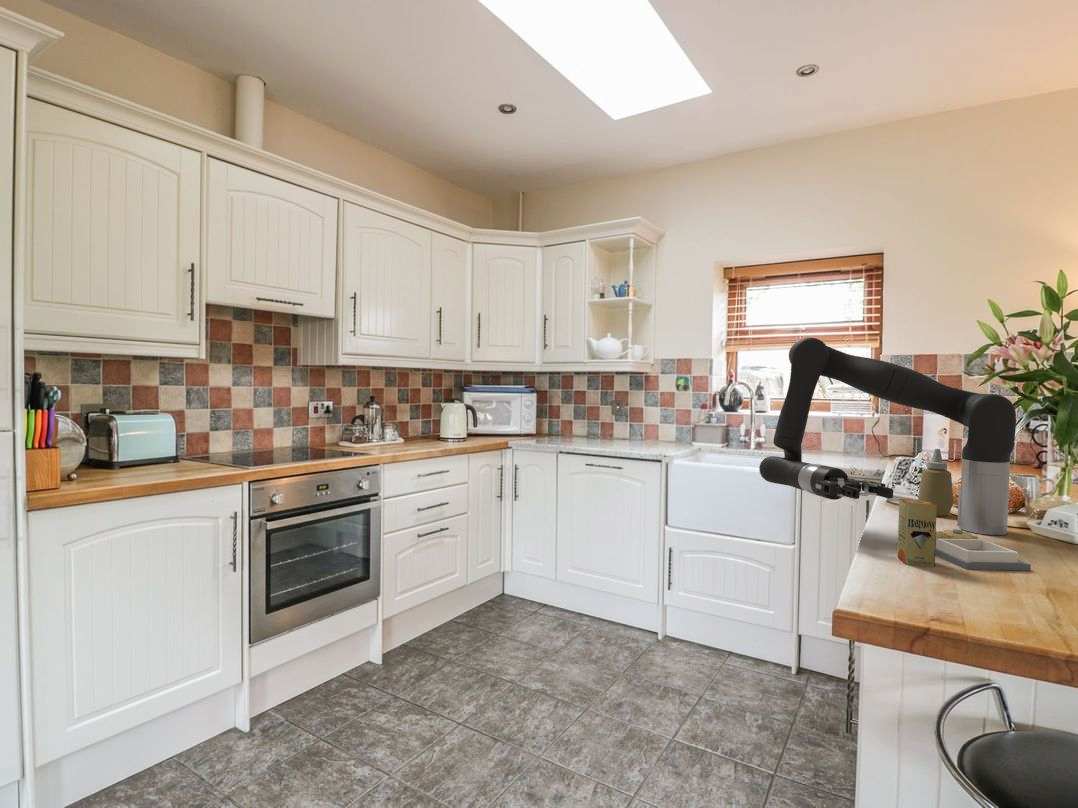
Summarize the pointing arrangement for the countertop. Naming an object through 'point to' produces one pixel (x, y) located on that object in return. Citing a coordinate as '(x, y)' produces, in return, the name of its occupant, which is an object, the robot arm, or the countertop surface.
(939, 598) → the countertop surface
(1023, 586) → the countertop surface
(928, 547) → the shoe polish box
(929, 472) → the squeeze bottle
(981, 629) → the countertop surface
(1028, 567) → the gear board
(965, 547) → the square socket
